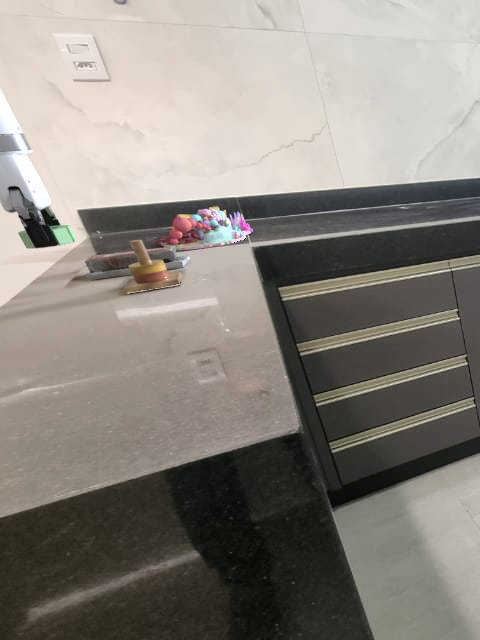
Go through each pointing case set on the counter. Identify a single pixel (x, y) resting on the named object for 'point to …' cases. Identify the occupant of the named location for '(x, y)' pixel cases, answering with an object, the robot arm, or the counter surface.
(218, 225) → the candy landscape model
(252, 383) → the counter surface
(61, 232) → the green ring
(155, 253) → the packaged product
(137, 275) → the stacking stand
